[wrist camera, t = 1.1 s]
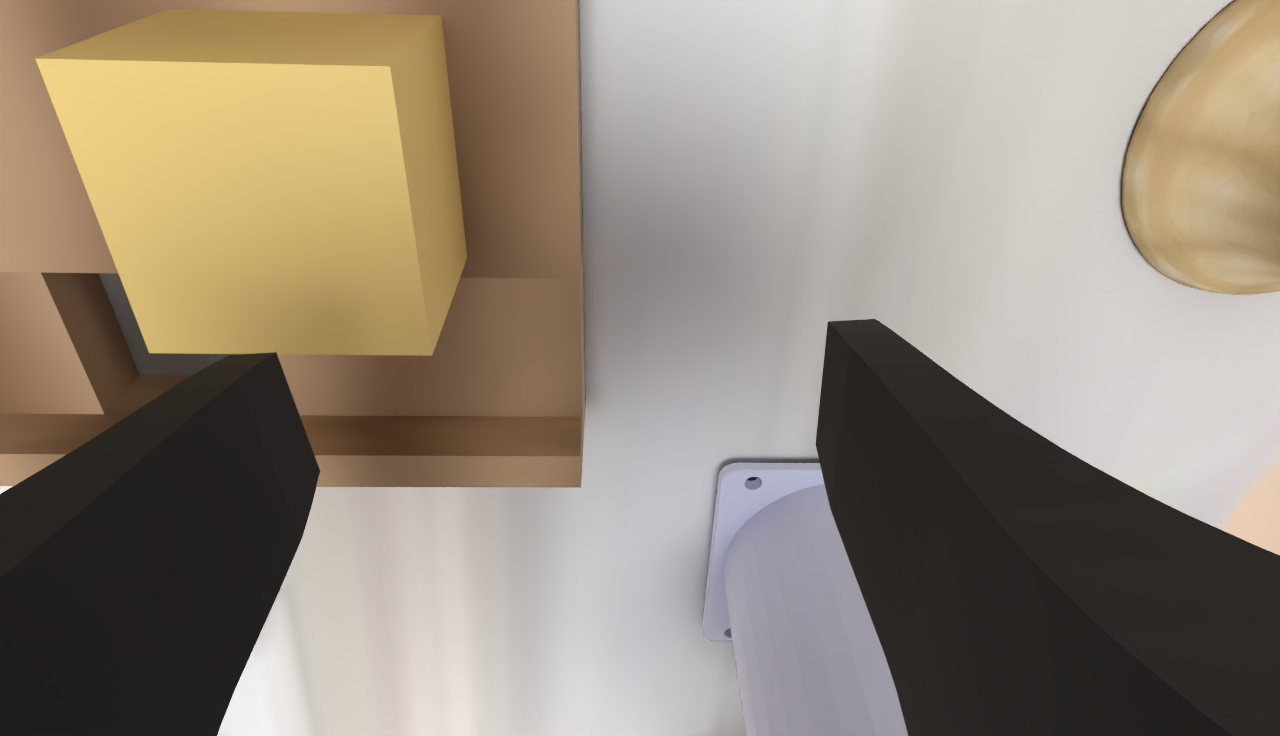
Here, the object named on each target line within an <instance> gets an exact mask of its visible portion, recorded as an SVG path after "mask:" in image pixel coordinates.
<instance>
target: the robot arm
mask: <svg viewBox="0 0 1280 736" xmlns="http://www.w3.org/2000/svg"><path fill="white" fill-rule="evenodd" d="M816 447H817V452H818V457H819V461H820V463H732V464H729V465H727V466H725V467H724V468H723V469H722V470H721V471H720V473H719V478H718V487H717V496H716V505H715V514H714V523H713V532H712V541H711V550H710V559H709V568H708V577H707V586H706V595H705V604H704V613H703V622H702V628H703V635H704V636H705V637H706V638H707V639H709V640H711V641H733V648H734V654H735V661H736V668H737V675H738V682H739V689H740V696H741V702H742V709H743V716H744V723H745V730H746V736H1280V556H1279V555H1277V554H1274V553H1272V552H1270V551H1267V550H1265V549H1262V548H1260V547H1258V546H1255V545H1253V544H1251V543H1249V542H1246V541H1244V540H1242V539H1240V538H1238V537H1235V536H1233V535H1231V534H1229V533H1226V532H1224V531H1222V530H1220V529H1218V528H1215V527H1213V526H1211V525H1209V524H1206V523H1204V522H1202V521H1200V520H1197V519H1195V518H1193V517H1191V516H1189V515H1186V514H1184V513H1182V512H1180V511H1178V510H1176V509H1174V508H1172V507H1170V506H1168V505H1166V504H1164V503H1162V502H1160V501H1158V500H1156V499H1154V498H1152V497H1150V496H1148V495H1146V494H1144V493H1142V492H1140V491H1138V490H1136V489H1134V488H1133V487H1131V486H1129V485H1127V484H1125V483H1123V482H1121V481H1119V480H1118V479H1116V478H1114V477H1112V476H1110V475H1108V474H1106V473H1104V472H1103V471H1101V470H1099V469H1097V468H1095V467H1093V466H1091V465H1090V464H1088V463H1086V462H1084V461H1083V460H1081V459H1079V458H1077V457H1076V456H1074V455H1072V454H1070V453H1069V452H1067V451H1065V450H1064V449H1062V448H1060V447H1059V446H1057V445H1056V444H1054V443H1052V442H1051V441H1049V440H1048V439H1046V438H1044V437H1043V436H1041V435H1040V434H1038V433H1036V432H1035V431H1033V430H1032V429H1030V428H1029V427H1027V426H1025V425H1024V424H1022V423H1021V422H1019V421H1017V420H1016V419H1014V418H1013V417H1011V416H1010V415H1008V414H1007V413H1005V412H1004V411H1002V410H1001V409H999V408H998V407H996V406H995V405H993V404H992V403H991V402H989V401H988V400H986V399H985V398H983V397H982V396H981V395H979V394H978V393H976V392H975V391H973V390H972V389H971V388H969V387H968V386H966V385H965V384H964V383H962V382H961V381H959V380H958V379H957V378H955V377H954V376H953V375H951V374H950V373H949V372H947V371H946V370H944V369H943V368H942V367H940V366H939V365H938V364H936V363H935V362H934V361H932V360H931V359H930V358H928V357H927V356H926V355H924V354H923V353H922V352H920V351H919V350H918V349H916V348H915V347H914V346H912V345H911V344H910V343H908V342H907V341H906V340H904V339H903V338H902V337H900V336H899V335H897V334H896V333H895V332H893V331H892V330H891V329H889V328H888V327H886V326H885V325H883V324H882V323H880V322H879V321H877V320H876V319H868V320H850V321H832V322H828V327H827V337H826V347H825V357H824V367H823V377H822V387H821V397H820V407H819V417H818V427H817V437H816ZM319 474H320V469H319V466H318V464H317V461H316V458H315V455H314V453H313V450H312V447H311V445H310V442H309V439H308V437H307V434H306V431H305V428H304V426H303V423H302V420H301V418H300V415H299V412H298V410H297V407H296V404H295V401H294V399H293V396H292V393H291V391H290V388H289V385H288V383H287V380H286V377H285V374H284V372H283V369H282V366H281V364H280V361H279V358H278V356H277V353H276V352H272V353H254V354H236V355H229V356H227V357H225V358H223V359H221V360H219V361H217V362H215V363H213V364H211V365H209V366H207V367H206V368H204V369H202V370H200V371H199V372H197V373H195V374H194V375H192V376H190V377H189V378H187V379H185V380H184V381H182V382H181V383H179V384H177V385H176V386H174V387H173V388H171V389H169V390H168V391H166V392H165V393H163V394H162V395H160V396H158V397H157V398H155V399H154V400H152V401H151V402H149V403H147V404H146V405H144V406H143V407H141V408H140V409H138V410H137V411H135V412H133V413H132V414H130V415H129V416H127V417H126V418H124V419H122V420H121V421H119V422H118V423H116V424H115V425H113V426H111V427H110V428H108V429H107V430H105V431H104V432H102V433H100V434H99V435H97V436H96V437H94V438H93V439H91V440H90V441H88V442H86V443H85V444H83V445H82V446H80V447H78V448H77V449H75V450H73V451H72V452H70V453H68V454H67V455H65V456H63V457H62V458H60V459H58V460H57V461H55V462H53V463H52V464H50V465H48V466H47V467H45V468H43V469H42V470H40V471H38V472H37V473H35V474H33V475H32V476H30V477H28V478H27V479H25V480H23V481H22V482H20V483H18V484H17V485H15V486H13V487H12V488H10V489H8V490H6V491H5V492H3V493H1V494H0V736H217V734H218V731H219V728H220V725H221V723H222V720H223V718H224V715H225V713H226V710H227V708H228V705H229V703H230V700H231V698H232V695H233V693H234V690H235V688H236V686H237V683H238V681H239V679H240V677H241V674H242V672H243V670H244V668H245V666H246V663H247V661H248V659H249V657H250V654H251V652H252V650H253V648H254V645H255V643H256V641H257V639H258V637H259V634H260V632H261V630H262V628H263V625H264V623H265V621H266V619H267V617H268V614H269V612H270V610H271V608H272V605H273V603H274V601H275V599H276V596H277V594H278V592H279V590H280V587H281V585H282V583H283V581H284V578H285V576H286V574H287V571H288V569H289V567H290V565H291V562H292V560H293V558H294V555H295V553H296V551H297V548H298V546H299V543H300V541H301V539H302V536H303V533H304V529H305V526H306V523H307V519H308V516H309V512H310V509H311V505H312V502H313V498H314V494H315V490H316V486H317V482H318V478H319ZM750 477H759V478H757V479H756V480H753V481H748V480H747V479H748V478H750Z"/></svg>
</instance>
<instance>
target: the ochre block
mask: <svg viewBox="0 0 1280 736" xmlns="http://www.w3.org/2000/svg"><path fill="white" fill-rule="evenodd" d="M36 62H37V64H38V67H39V70H40V72H41V75H42V77H43V80H44V82H45V85H46V88H47V90H48V93H49V95H50V98H51V101H52V103H53V106H54V108H55V111H56V113H57V116H58V119H59V121H60V124H61V126H62V129H63V132H64V134H65V137H66V139H67V142H68V144H69V147H70V150H71V152H72V155H73V157H74V160H75V163H76V165H77V168H78V170H79V173H80V175H81V178H82V181H83V183H84V186H85V188H86V191H87V194H88V196H89V199H90V201H91V204H92V206H93V209H94V212H95V214H96V217H97V219H98V222H99V225H100V227H101V230H102V232H103V235H104V237H105V240H106V243H107V245H108V248H109V250H110V253H111V256H112V258H113V261H114V263H115V266H116V268H117V271H118V274H119V276H120V279H121V281H122V284H123V287H124V289H125V292H126V294H127V297H128V299H129V302H130V305H131V307H132V310H133V312H134V315H135V318H136V320H137V323H138V325H139V328H140V330H141V333H142V336H143V338H144V341H145V343H146V346H147V349H148V351H149V353H181V354H254V353H272V352H276V353H277V354H297V355H413V356H432V355H433V352H434V349H435V347H436V344H437V341H438V338H439V335H440V333H441V330H442V327H443V324H444V321H445V319H446V316H447V313H448V310H449V307H450V305H451V302H452V299H453V296H454V293H455V291H456V288H457V285H458V282H459V279H460V277H461V274H462V271H463V268H464V265H465V263H466V260H467V251H466V241H465V232H464V223H463V213H462V204H461V195H460V185H459V176H458V166H457V157H456V148H455V138H454V129H453V120H452V110H451V101H450V92H449V82H448V73H447V63H446V54H445V45H444V35H443V26H442V17H441V15H407V14H366V13H325V12H284V11H242V10H201V9H167V10H164V11H161V12H159V13H156V14H153V15H151V16H148V17H145V18H143V19H140V20H137V21H135V22H132V23H129V24H127V25H124V26H121V27H119V28H116V29H113V30H110V31H108V32H105V33H102V34H100V35H97V36H94V37H92V38H89V39H86V40H84V41H81V42H78V43H76V44H73V45H70V46H68V47H65V48H62V49H60V50H57V51H54V52H52V53H49V54H46V55H44V56H41V57H38V58H36Z"/></svg>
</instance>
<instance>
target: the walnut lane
mask: <svg viewBox="0 0 1280 736" xmlns="http://www.w3.org/2000/svg"><path fill="white" fill-rule="evenodd" d="M167 9H201V10H242V11H284V12H325V13H366V14H407V15H441V17H442V26H443V35H444V45H445V54H446V63H447V73H448V82H449V92H450V101H451V110H452V120H453V129H454V138H455V148H456V157H457V166H458V176H459V185H460V195H461V204H462V213H463V223H464V232H465V241H466V251H467V260H466V263H465V265H464V268H463V271H462V274H461V277H460V279H459V282H458V285H457V288H456V291H455V293H454V296H453V299H452V302H451V305H450V307H449V310H448V313H447V316H446V319H445V321H444V324H443V327H442V330H441V333H440V335H439V338H438V341H437V344H436V347H435V349H434V352H433V355H432V356H413V355H297V354H277V356H278V358H279V361H280V364H281V366H282V369H283V372H284V374H285V377H286V380H287V383H288V385H289V388H290V391H291V393H292V396H293V399H294V401H295V404H296V407H297V410H298V412H299V415H300V418H301V420H302V423H303V426H304V428H305V431H306V434H307V437H308V439H309V442H310V445H311V447H312V450H313V453H314V455H315V458H316V461H317V464H318V466H319V469H320V474H319V478H318V482H317V486H316V487H581V474H582V456H583V437H584V419H585V345H584V279H583V212H582V146H581V80H580V14H579V0H0V486H15V485H17V484H18V483H20V482H22V481H23V480H25V479H27V478H28V477H30V476H32V475H33V474H35V473H37V472H38V471H40V470H42V469H43V468H45V467H47V466H48V465H50V464H52V463H53V462H55V461H57V460H58V459H60V458H62V457H63V456H65V455H67V454H68V453H70V452H72V451H73V450H75V449H77V448H78V447H80V446H82V445H83V444H85V443H86V442H88V441H90V440H91V439H93V438H94V437H96V436H97V435H99V434H100V433H102V432H104V431H105V430H107V429H108V428H110V427H111V426H113V425H115V424H116V423H118V422H119V421H121V420H122V419H124V418H126V417H127V416H129V415H130V414H132V413H133V412H135V411H137V410H138V409H140V408H141V407H143V406H144V405H146V404H147V403H149V402H151V401H152V400H154V399H155V398H157V397H158V396H160V395H162V394H163V393H165V392H166V391H168V390H169V389H171V388H173V387H174V386H176V385H177V384H179V383H181V382H182V381H184V380H185V379H187V378H189V377H190V376H192V375H194V374H195V373H197V372H199V371H200V370H202V369H204V368H206V367H207V366H209V365H211V364H213V363H215V362H217V361H219V360H221V359H223V358H225V357H227V356H229V355H236V354H181V353H149V351H148V349H147V346H146V343H145V341H144V338H143V336H142V333H141V330H140V328H139V325H138V323H137V320H136V318H135V315H134V312H133V310H132V307H131V305H130V302H129V299H128V297H127V294H126V292H125V289H124V287H123V284H122V281H121V279H120V276H119V274H118V271H117V268H116V266H115V263H114V261H113V258H112V256H111V253H110V250H109V248H108V245H107V243H106V240H105V237H104V235H103V232H102V230H101V227H100V225H99V222H98V219H97V217H96V214H95V212H94V209H93V206H92V204H91V201H90V199H89V196H88V194H87V191H86V188H85V186H84V183H83V181H82V178H81V175H80V173H79V170H78V168H77V165H76V163H75V160H74V157H73V155H72V152H71V150H70V147H69V144H68V142H67V139H66V137H65V134H64V132H63V129H62V126H61V124H60V121H59V119H58V116H57V113H56V111H55V108H54V106H53V103H52V101H51V98H50V95H49V93H48V90H47V88H46V85H45V82H44V80H43V77H42V75H41V72H40V70H39V67H38V64H37V62H36V58H38V57H41V56H44V55H46V54H49V53H52V52H54V51H57V50H60V49H62V48H65V47H68V46H70V45H73V44H76V43H78V42H81V41H84V40H86V39H89V38H92V37H94V36H97V35H100V34H102V33H105V32H108V31H110V30H113V29H116V28H119V27H121V26H124V25H127V24H129V23H132V22H135V21H137V20H140V19H143V18H145V17H148V16H151V15H153V14H156V13H159V12H161V11H164V10H167Z"/></svg>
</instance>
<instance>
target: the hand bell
mask: <svg viewBox="0 0 1280 736" xmlns="http://www.w3.org/2000/svg"><path fill="white" fill-rule="evenodd" d="M1122 195H1123V198H1122V206H1123V213H1124V218H1125V221H1126V225H1127V228H1128V230H1129V233H1130V235H1131V238H1132V239H1133V241H1134V243H1135V245H1136V247H1137V248H1138V250H1139V251H1140V253H1141V254H1142V255H1143V256H1144V258H1145V259H1146V260H1147V261H1148V262H1149V263H1150V264H1151V265H1152V266H1153V267H1154V268H1155V269H1157V270H1158V271H1159V272H1160V273H1162V274H1163V275H1165V276H1166V277H1168V278H1170V279H1172V280H1174V281H1176V282H1178V283H1180V284H1182V285H1185V286H1187V287H1191V288H1195V289H1199V290H1204V291H1209V292H1216V293H1225V294H1260V293H1270V292H1276V291H1280V0H1235V1H1234V2H1232V3H1231V4H1230V5H1229V6H1227V7H1226V8H1225V9H1224V10H1222V11H1221V12H1220V13H1219V14H1217V15H1216V16H1215V17H1214V18H1213V19H1212V20H1211V21H1210V22H1209V23H1208V24H1207V25H1206V26H1205V27H1204V28H1203V29H1202V30H1201V31H1200V32H1199V33H1198V34H1197V35H1196V37H1195V38H1194V39H1193V40H1192V41H1191V42H1190V43H1189V44H1188V45H1187V46H1186V47H1185V48H1184V49H1183V50H1182V51H1181V53H1180V54H1179V55H1178V57H1177V58H1176V59H1175V61H1174V62H1173V63H1172V64H1171V66H1170V67H1169V69H1168V70H1167V71H1166V73H1165V74H1164V76H1163V77H1162V79H1161V80H1160V82H1159V84H1158V85H1157V87H1156V88H1155V90H1154V91H1153V93H1152V95H1151V96H1150V98H1149V100H1148V102H1147V104H1146V106H1145V108H1144V110H1143V112H1142V114H1141V116H1140V118H1139V121H1138V123H1137V126H1136V128H1135V131H1134V133H1133V136H1132V139H1131V142H1130V145H1129V148H1128V151H1127V154H1126V161H1125V167H1124V170H1123V180H1122Z"/></svg>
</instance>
